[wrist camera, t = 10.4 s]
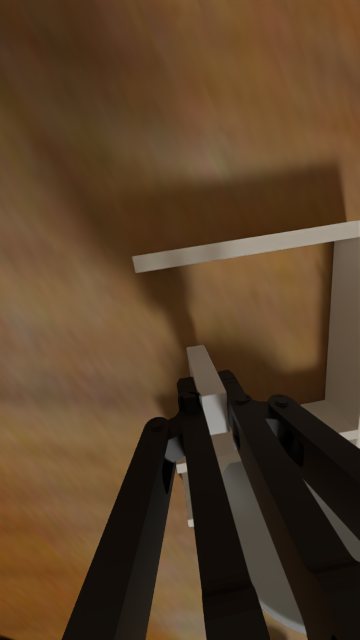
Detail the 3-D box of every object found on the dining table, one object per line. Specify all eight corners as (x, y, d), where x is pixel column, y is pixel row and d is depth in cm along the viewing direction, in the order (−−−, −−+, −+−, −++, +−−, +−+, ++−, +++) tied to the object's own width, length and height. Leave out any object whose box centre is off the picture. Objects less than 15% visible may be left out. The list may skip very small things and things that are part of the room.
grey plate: (205, 467, 22) (244, 658, 12) (203, 459, 22) (242, 648, 11) (307, 447, 23) (434, 615, 12) (308, 439, 22) (439, 604, 12)
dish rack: (184, 484, 24) (189, 527, 20) (138, 256, 17) (132, 256, 13) (329, 455, 25) (360, 492, 21) (347, 222, 17) (399, 213, 14)
